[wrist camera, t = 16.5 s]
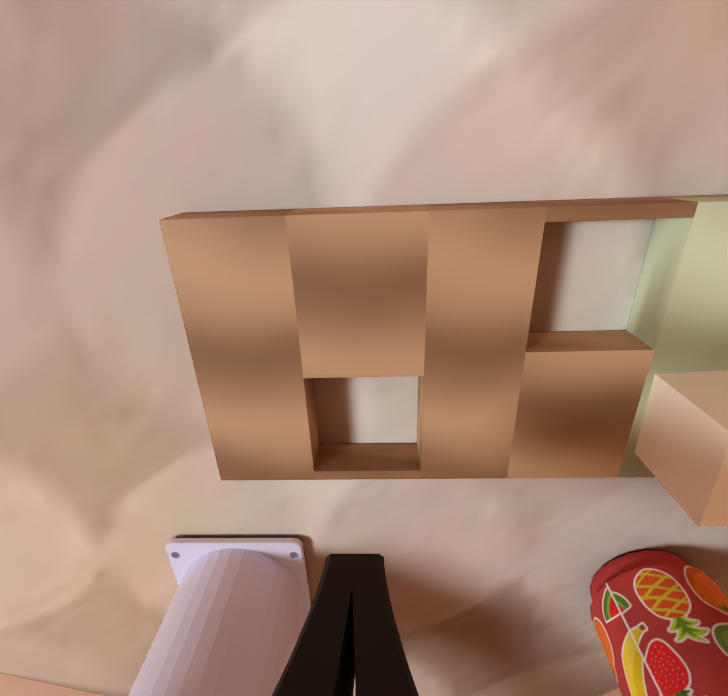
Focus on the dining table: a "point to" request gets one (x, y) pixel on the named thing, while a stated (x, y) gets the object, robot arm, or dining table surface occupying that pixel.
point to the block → (689, 441)
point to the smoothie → (661, 626)
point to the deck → (437, 334)
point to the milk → (35, 688)
